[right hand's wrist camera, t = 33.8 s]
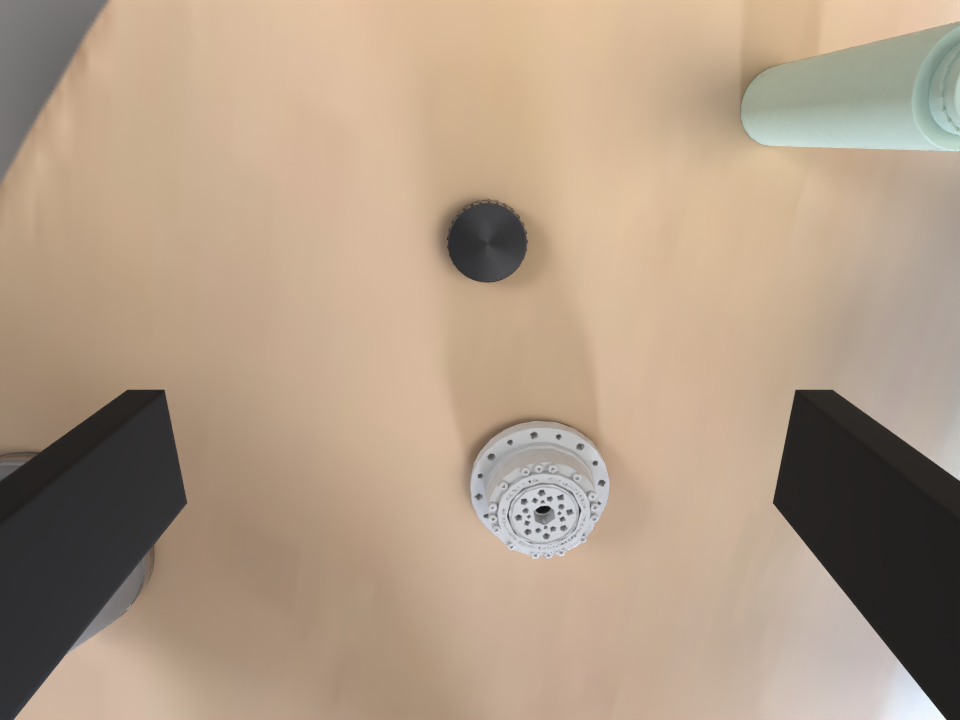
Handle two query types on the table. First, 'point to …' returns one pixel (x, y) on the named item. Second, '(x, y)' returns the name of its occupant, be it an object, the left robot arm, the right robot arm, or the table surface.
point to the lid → (487, 241)
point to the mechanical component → (539, 487)
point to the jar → (863, 96)
